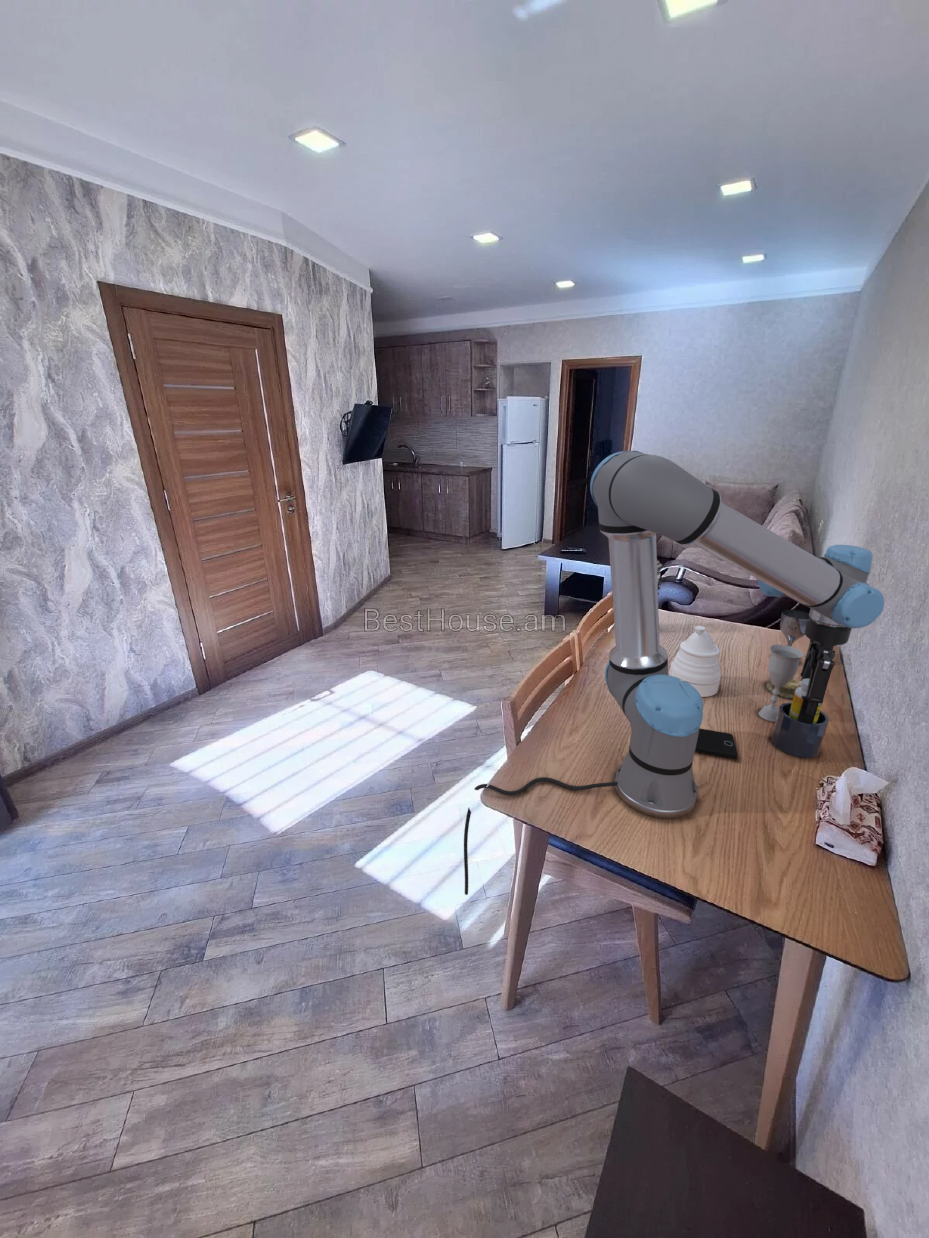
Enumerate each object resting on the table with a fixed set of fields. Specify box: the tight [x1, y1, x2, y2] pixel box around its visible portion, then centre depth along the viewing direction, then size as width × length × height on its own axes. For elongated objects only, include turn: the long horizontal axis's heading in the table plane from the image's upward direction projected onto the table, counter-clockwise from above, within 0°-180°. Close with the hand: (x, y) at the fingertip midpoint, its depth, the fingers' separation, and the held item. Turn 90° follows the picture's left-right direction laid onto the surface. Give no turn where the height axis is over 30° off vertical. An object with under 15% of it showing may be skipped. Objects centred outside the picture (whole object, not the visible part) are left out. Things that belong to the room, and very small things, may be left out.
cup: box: [771, 701, 830, 759], centre depth 113 cm, size 9×9×8 cm
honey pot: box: [668, 625, 722, 698], centre depth 137 cm, size 13×13×18 cm
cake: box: [765, 677, 801, 700], centre depth 136 cm, size 10×10×5 cm
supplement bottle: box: [789, 679, 825, 724], centre depth 110 cm, size 5×5×10 cm
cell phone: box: [695, 728, 739, 760], centre depth 116 cm, size 9×18×1 cm, turn 71°
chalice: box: [758, 644, 804, 723], centre depth 122 cm, size 7×7×18 cm
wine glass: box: [779, 609, 810, 647], centre depth 151 cm, size 8×8×15 cm
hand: (802, 717), depth 111 cm, fingers closed on supplement bottle, 5 cm apart
